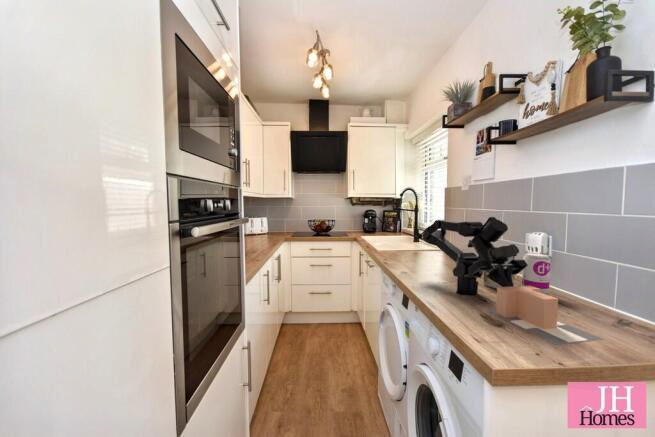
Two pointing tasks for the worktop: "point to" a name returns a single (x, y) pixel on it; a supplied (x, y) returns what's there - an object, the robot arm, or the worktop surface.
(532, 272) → the supplement can
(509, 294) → the t block
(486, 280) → the coffee box
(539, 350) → the worktop surface
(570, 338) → the mat
